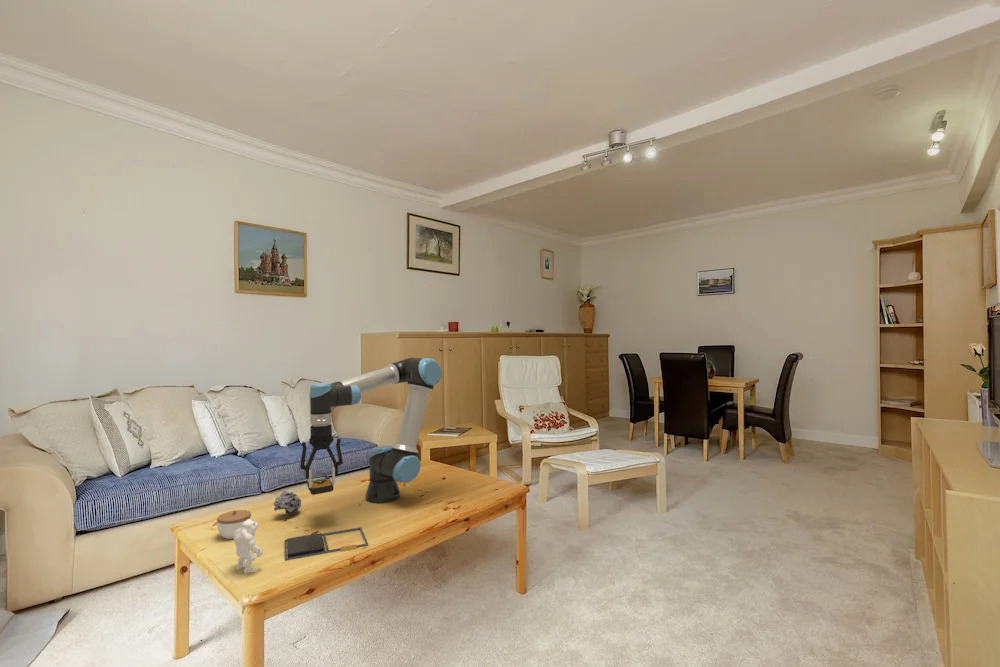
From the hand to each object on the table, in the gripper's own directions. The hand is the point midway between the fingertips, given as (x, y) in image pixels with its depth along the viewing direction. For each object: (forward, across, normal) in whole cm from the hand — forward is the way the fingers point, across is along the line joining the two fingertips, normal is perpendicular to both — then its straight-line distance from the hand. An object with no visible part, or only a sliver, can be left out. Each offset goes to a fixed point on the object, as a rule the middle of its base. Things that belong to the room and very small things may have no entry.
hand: (322, 485), depth 179 cm
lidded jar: (+16, -30, +7) cm, 34 cm away
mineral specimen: (+17, -12, +20) cm, 28 cm away
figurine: (+16, -24, -24) cm, 37 cm away
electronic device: (+5, 0, -1) cm, 5 cm away
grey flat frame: (+16, 0, -15) cm, 22 cm away
